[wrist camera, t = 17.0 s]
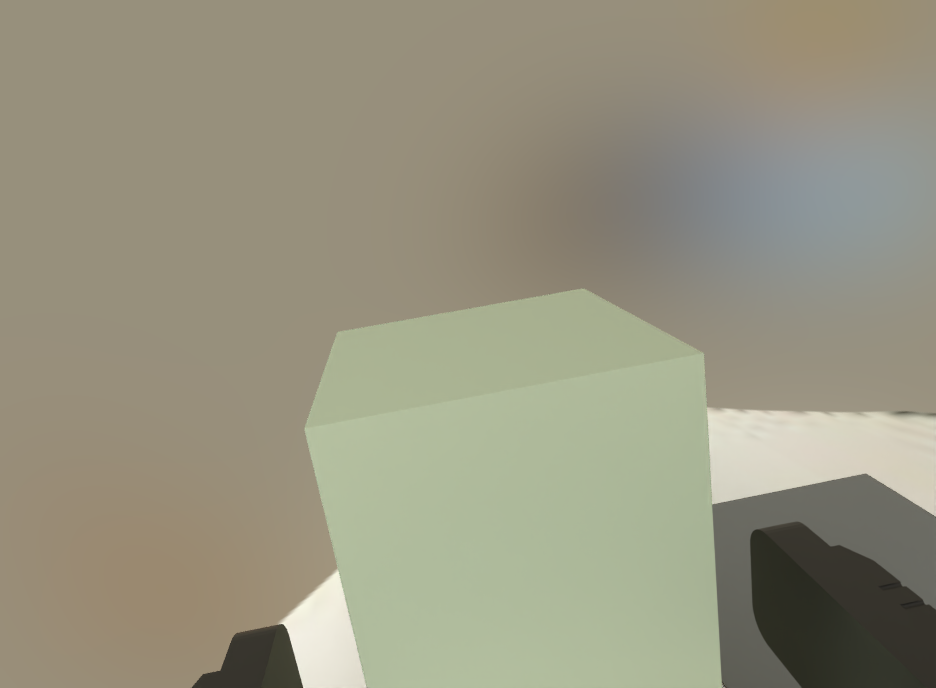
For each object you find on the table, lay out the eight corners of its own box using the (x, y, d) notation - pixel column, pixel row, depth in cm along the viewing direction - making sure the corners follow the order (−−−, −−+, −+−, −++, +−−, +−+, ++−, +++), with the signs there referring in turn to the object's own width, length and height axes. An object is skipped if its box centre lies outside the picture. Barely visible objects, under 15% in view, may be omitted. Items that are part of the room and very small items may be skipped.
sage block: (634, 772, 18) (583, 288, 14) (740, 1025, 12) (704, 353, 9) (442, 818, 17) (337, 331, 13) (466, 1101, 12) (303, 428, 8)
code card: (866, 475, 32) (866, 472, 32) (1365, 786, 15) (1366, 782, 15) (620, 525, 31) (619, 522, 31) (872, 911, 15) (872, 907, 14)
